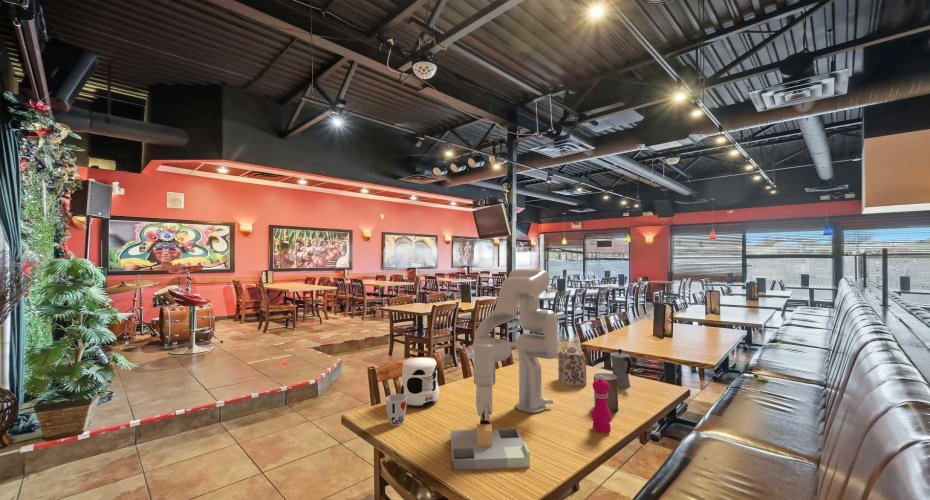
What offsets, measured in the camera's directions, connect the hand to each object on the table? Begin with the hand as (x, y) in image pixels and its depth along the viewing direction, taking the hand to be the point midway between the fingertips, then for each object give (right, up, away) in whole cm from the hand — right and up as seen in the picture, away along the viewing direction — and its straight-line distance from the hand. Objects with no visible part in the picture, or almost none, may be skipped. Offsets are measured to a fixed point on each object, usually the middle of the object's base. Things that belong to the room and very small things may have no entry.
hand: (484, 431), depth 133 cm
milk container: (-27, -6, +39) cm, 48 cm away
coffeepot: (+72, -5, +59) cm, 93 cm away
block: (0, -1, -5) cm, 5 cm away
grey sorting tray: (0, -4, -5) cm, 7 cm away
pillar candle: (+53, -5, +31) cm, 62 cm away
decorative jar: (+48, -6, +65) cm, 81 cm away
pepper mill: (+45, -4, +11) cm, 46 cm away
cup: (-34, -5, +18) cm, 39 cm away
